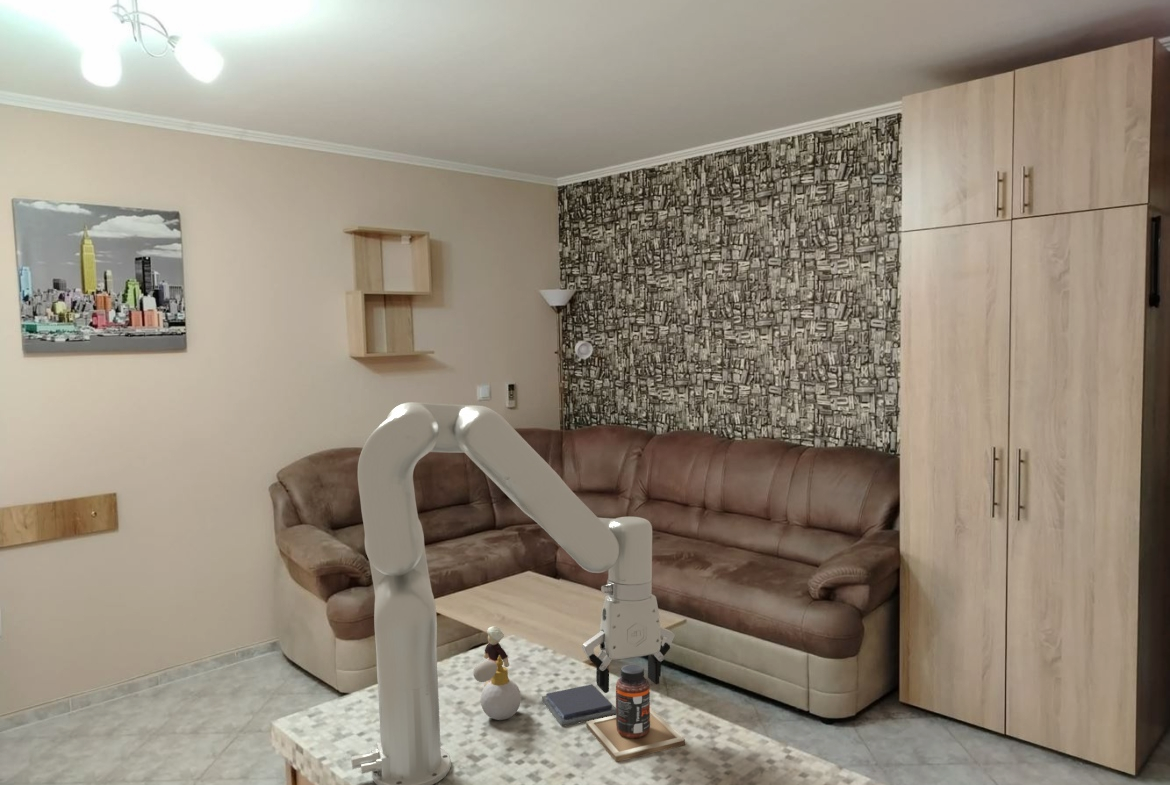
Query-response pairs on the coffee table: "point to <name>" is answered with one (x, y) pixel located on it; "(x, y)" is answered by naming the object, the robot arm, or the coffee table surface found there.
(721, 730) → the coffee table surface
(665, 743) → the framed board
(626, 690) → the supplement bottle
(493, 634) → the grandmother figurine
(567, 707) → the pad
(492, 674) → the perfume bottle
